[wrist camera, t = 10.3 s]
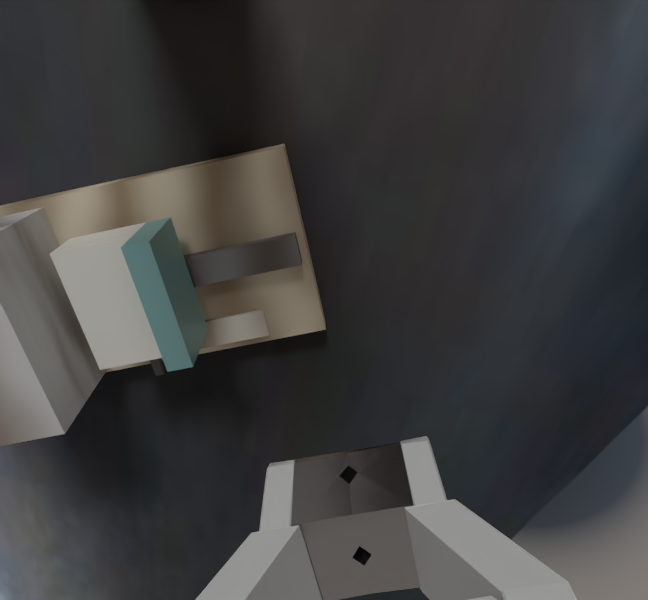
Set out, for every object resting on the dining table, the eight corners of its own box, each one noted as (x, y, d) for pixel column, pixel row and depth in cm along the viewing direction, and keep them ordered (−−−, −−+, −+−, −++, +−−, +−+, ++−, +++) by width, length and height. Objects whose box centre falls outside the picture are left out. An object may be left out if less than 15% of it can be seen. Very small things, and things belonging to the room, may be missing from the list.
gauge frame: (284, 143, 35) (275, 170, 27) (325, 320, 40) (328, 391, 32) (-49, 215, 37) (-160, 264, 28) (32, 377, 42) (-41, 460, 33)
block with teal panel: (170, 217, 34) (148, 241, 29) (218, 360, 38) (205, 401, 34) (70, 238, 34) (33, 265, 30) (127, 377, 39) (103, 420, 34)
